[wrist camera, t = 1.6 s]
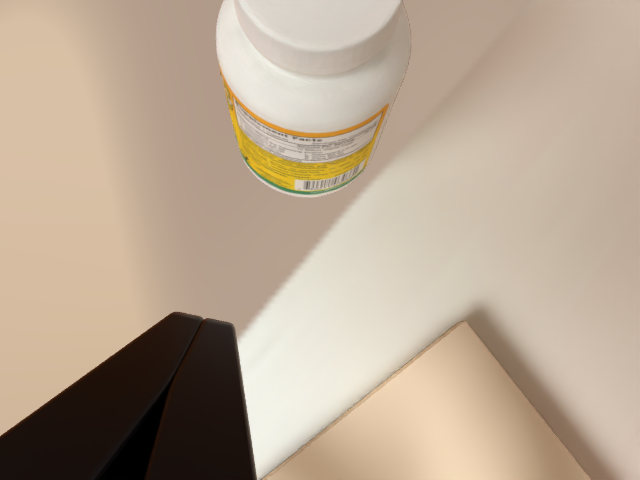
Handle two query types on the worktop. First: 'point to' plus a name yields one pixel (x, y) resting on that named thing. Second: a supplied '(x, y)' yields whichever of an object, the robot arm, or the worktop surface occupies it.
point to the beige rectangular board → (438, 426)
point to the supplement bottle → (311, 86)
